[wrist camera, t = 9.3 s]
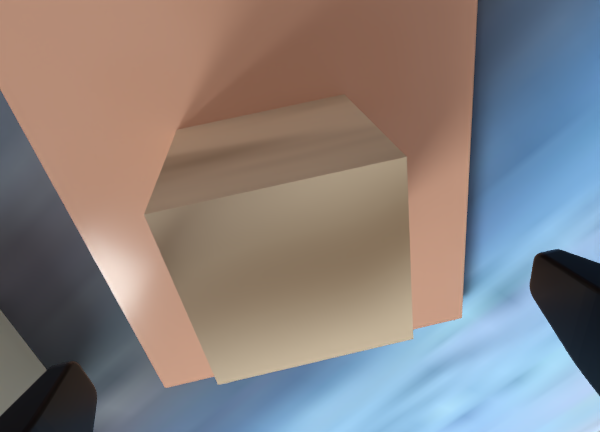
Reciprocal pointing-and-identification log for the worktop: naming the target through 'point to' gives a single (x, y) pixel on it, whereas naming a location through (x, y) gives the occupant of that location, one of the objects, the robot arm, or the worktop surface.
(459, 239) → the terracotta tile
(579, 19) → the worktop surface
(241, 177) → the beech block
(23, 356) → the sage block
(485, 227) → the worktop surface
